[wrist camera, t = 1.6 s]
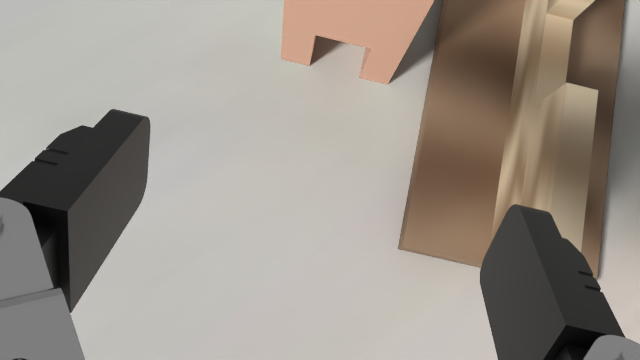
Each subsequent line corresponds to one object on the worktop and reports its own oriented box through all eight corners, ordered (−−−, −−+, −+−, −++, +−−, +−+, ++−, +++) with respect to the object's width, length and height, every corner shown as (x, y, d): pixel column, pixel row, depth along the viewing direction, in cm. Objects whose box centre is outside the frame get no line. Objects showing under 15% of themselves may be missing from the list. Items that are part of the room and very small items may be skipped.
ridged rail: (582, 291, 29) (682, 288, 22) (397, 248, 29) (439, 232, 22) (617, -40, 33) (709, -129, 26) (457, -80, 33) (509, -182, 26)
